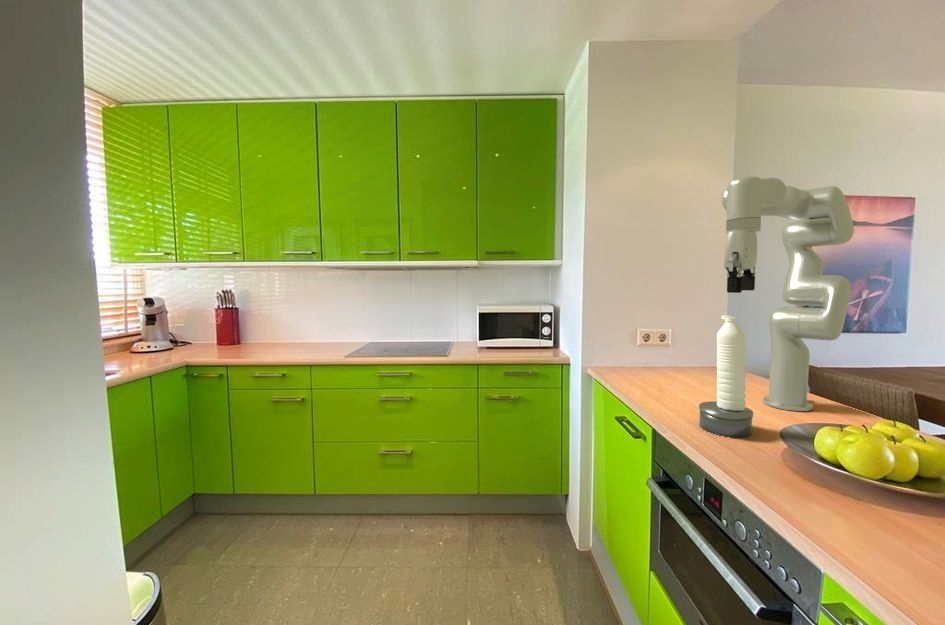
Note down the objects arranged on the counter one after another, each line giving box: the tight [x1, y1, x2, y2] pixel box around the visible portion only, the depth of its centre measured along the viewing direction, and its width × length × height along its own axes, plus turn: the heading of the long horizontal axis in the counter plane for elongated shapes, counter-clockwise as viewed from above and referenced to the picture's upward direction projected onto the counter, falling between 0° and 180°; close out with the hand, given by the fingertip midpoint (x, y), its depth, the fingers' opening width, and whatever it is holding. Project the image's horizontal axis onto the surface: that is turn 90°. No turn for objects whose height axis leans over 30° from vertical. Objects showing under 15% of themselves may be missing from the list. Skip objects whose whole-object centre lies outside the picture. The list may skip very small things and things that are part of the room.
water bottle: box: [716, 314, 746, 411], centre depth 107 cm, size 9×6×25 cm
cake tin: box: [698, 400, 754, 439], centre depth 106 cm, size 12×12×6 cm
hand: (740, 291), depth 104 cm, fingers open, 9 cm apart
